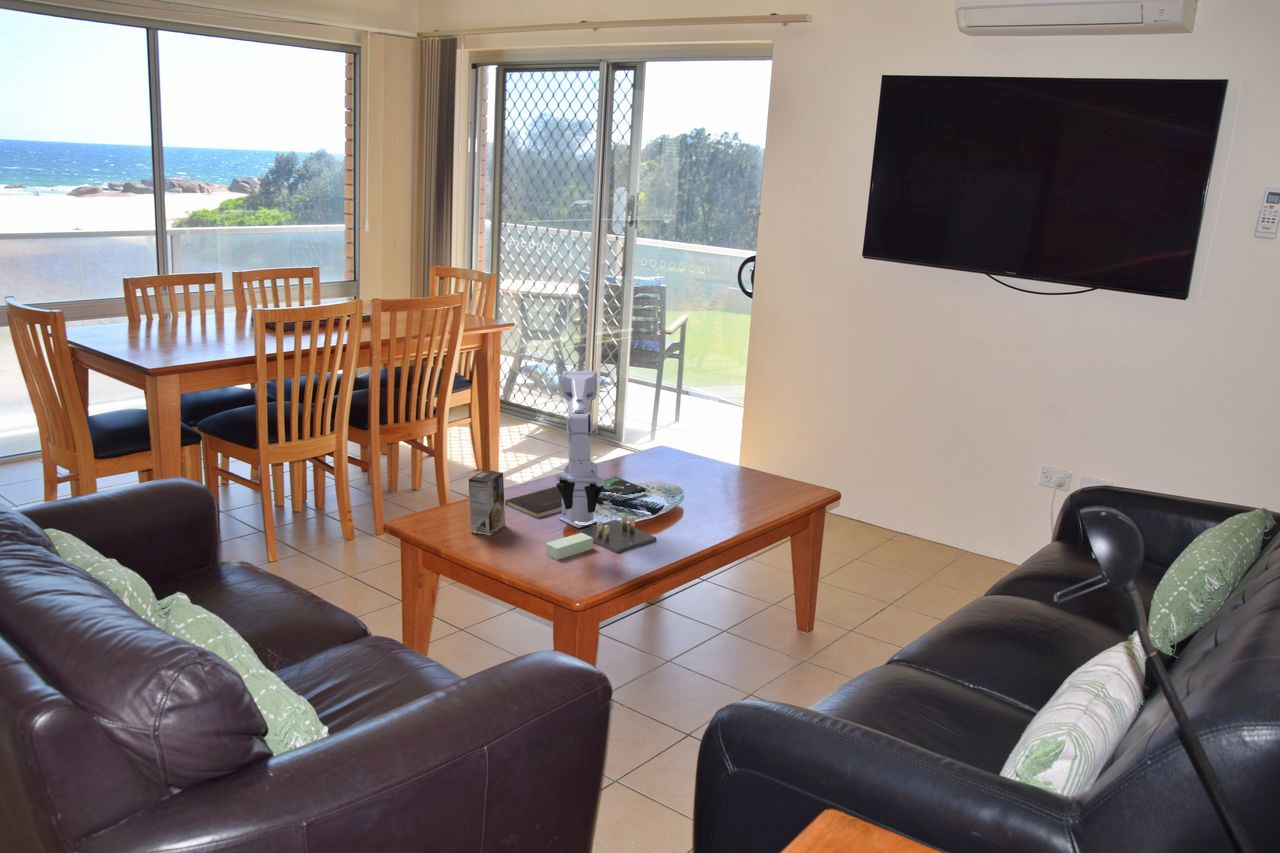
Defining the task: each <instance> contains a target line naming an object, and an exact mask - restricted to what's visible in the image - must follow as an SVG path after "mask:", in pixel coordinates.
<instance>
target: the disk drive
mask: <svg viewBox="0 0 1280 853" xmlns="http://www.w3.org/2000/svg"><path fill="white" fill-rule="evenodd" d="M601 492H611V493H616V494H620V495H629V494H635V493H641V492H645V493H646V488H644V487H643V486H641V485H638V484H635V483H632V482H630V481H627V480H626V479H623V478H620V477H617V476H615V477H611V478H608V479H604V485H603V490H602V491H601Z"/></svg>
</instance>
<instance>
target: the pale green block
mask: <svg viewBox="0 0 1280 853" xmlns="http://www.w3.org/2000/svg"><path fill="white" fill-rule="evenodd" d="M593 549H594V542H593V538H592V537H590V536H588V535H586V534H583V533H579V534H576V533H574V534H572V535H569V536H566V537H561V538H559V539H555V540H552V541H549V542H546V543H545V555H547V556H548V557H550V558H552V559H554V560H557V561H558V560H561V559H565V558H568V557H572V556H574V555H578V554H581V553H584V552H587V551H590V550H593Z"/></svg>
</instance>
